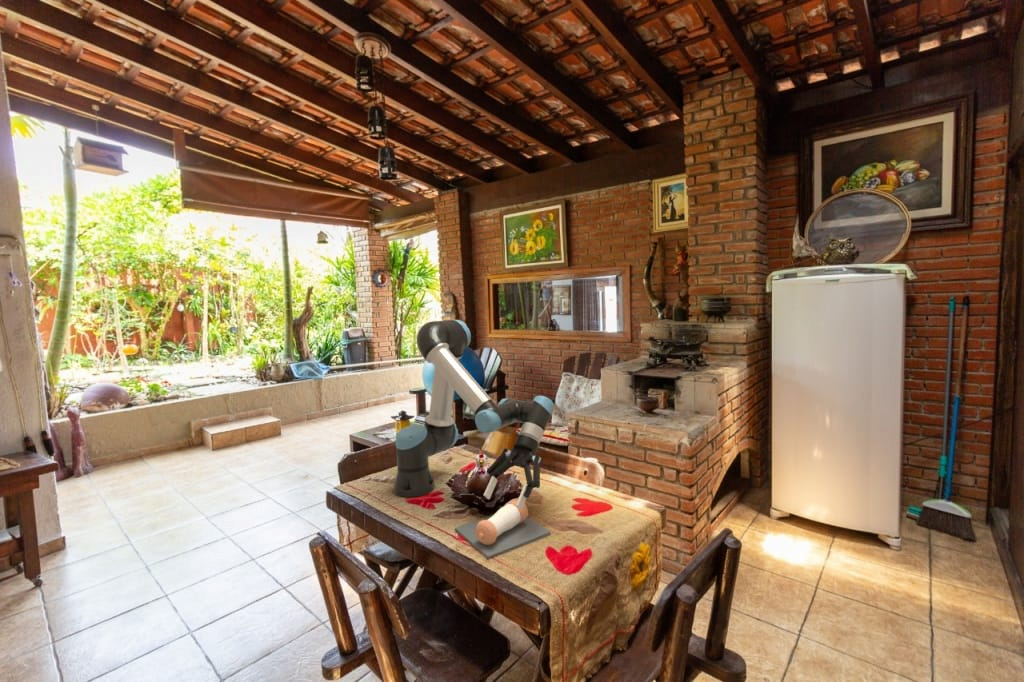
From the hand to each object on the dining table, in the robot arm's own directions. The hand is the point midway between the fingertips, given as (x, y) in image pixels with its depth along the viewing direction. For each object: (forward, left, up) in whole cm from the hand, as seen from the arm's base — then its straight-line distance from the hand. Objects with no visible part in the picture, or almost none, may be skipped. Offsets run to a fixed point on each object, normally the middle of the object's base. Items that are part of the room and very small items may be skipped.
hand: (502, 502), depth 140 cm
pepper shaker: (-2, +7, -5) cm, 9 cm away
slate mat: (0, -1, -9) cm, 9 cm away
